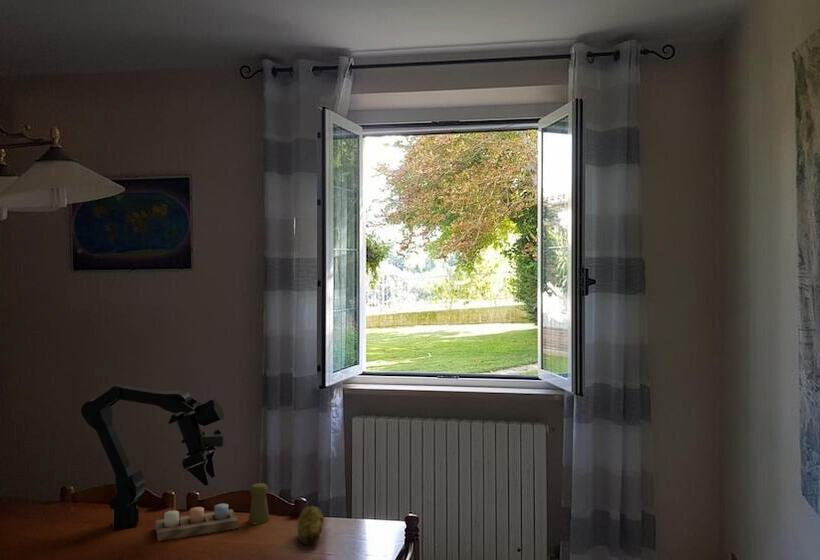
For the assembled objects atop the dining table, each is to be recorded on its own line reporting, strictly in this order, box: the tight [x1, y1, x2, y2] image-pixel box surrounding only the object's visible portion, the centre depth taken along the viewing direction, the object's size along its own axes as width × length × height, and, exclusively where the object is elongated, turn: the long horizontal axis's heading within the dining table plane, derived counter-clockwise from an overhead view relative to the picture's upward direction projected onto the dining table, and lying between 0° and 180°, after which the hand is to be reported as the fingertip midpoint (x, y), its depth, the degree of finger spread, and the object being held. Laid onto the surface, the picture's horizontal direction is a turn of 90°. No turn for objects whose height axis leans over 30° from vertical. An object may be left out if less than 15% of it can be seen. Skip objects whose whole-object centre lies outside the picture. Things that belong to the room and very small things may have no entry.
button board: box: [155, 508, 239, 542], centre depth 192 cm, size 22×10×2 cm, turn 115°
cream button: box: [163, 510, 180, 528], centre depth 189 cm, size 4×4×4 cm
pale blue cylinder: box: [213, 503, 229, 520], centre depth 195 cm, size 4×4×4 cm
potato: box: [297, 505, 325, 546], centre depth 185 cm, size 8×13×8 cm, turn 170°
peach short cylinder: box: [189, 506, 205, 524], centre depth 192 cm, size 4×4×4 cm
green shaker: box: [248, 482, 270, 525], centre depth 199 cm, size 6×6×11 cm
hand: (210, 481), depth 194 cm, fingers open, 9 cm apart
